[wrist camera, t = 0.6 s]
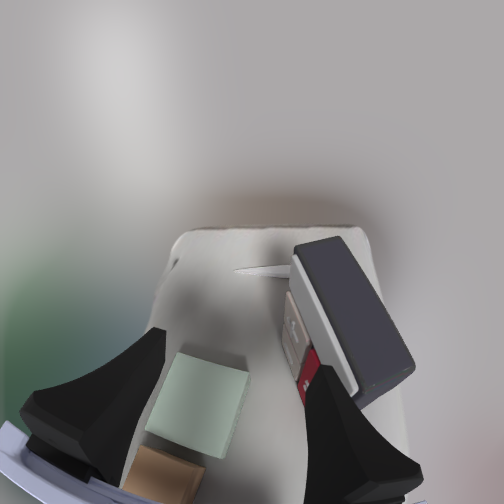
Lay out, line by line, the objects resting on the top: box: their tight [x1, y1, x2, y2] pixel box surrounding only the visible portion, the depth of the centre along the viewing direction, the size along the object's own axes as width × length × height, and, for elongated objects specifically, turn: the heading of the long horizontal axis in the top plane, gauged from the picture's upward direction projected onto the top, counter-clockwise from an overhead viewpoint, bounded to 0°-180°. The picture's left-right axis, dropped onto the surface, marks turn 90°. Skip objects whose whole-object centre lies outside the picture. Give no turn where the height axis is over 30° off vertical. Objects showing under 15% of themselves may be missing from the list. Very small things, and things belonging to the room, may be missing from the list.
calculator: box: [282, 236, 416, 410], centre depth 21 cm, size 11×4×15 cm, turn 15°
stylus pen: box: [234, 265, 290, 278], centre depth 36 cm, size 15×3×2 cm, turn 84°
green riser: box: [144, 352, 251, 459], centre depth 24 cm, size 9×8×3 cm
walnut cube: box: [122, 445, 206, 504], centre depth 18 cm, size 5×5×5 cm
